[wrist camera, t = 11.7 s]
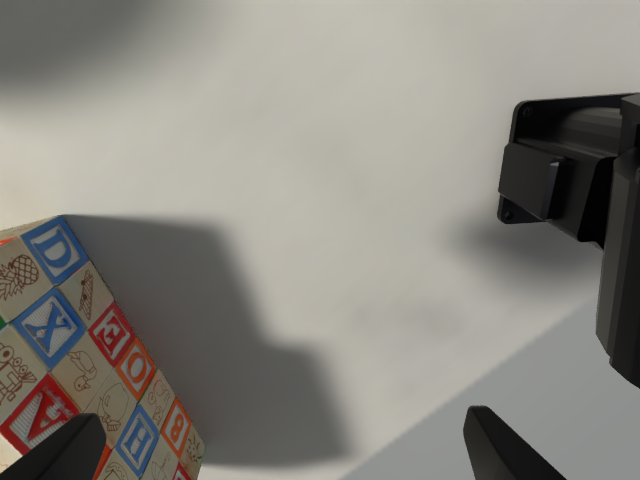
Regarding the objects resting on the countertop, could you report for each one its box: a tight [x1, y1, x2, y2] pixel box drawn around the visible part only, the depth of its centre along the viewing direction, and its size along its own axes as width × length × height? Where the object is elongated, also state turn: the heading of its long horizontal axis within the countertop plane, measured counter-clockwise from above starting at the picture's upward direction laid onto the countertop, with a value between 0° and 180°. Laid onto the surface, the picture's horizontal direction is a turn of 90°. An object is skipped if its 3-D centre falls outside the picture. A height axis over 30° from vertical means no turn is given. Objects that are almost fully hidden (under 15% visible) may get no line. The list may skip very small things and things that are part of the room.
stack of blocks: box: [0, 215, 206, 480], centre depth 19 cm, size 21×6×12 cm, turn 15°
